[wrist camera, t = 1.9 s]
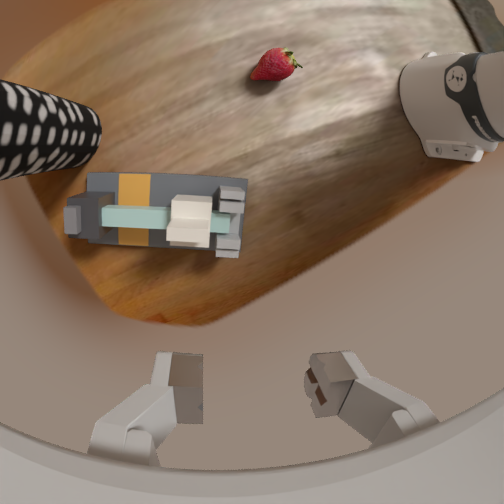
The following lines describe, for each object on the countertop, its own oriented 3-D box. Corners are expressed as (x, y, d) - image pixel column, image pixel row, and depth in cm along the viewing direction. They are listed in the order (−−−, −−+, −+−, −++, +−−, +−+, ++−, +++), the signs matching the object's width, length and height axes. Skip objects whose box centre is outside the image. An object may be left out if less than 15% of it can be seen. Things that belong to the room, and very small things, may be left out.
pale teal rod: (229, 211, 31) (230, 214, 29) (227, 228, 32) (228, 233, 30) (92, 204, 28) (85, 207, 26) (93, 221, 29) (86, 225, 27)
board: (246, 179, 34) (247, 179, 32) (239, 249, 36) (240, 252, 35) (90, 172, 30) (86, 173, 29) (91, 240, 33) (87, 243, 32)
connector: (115, 191, 31) (94, 200, 24) (114, 226, 32) (95, 242, 26) (86, 191, 30) (61, 199, 24) (87, 225, 31) (63, 240, 25)
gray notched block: (240, 187, 33) (245, 192, 28) (234, 244, 35) (238, 259, 30) (219, 185, 32) (221, 190, 27) (215, 242, 34) (215, 258, 29)
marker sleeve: (212, 196, 31) (212, 210, 23) (209, 235, 33) (208, 261, 25) (177, 194, 31) (165, 207, 23) (175, 233, 32) (163, 259, 24)
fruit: (240, 64, 29) (245, 50, 24) (283, 50, 29) (294, 35, 24) (255, 92, 30) (262, 82, 26) (298, 77, 30) (311, 66, 25)
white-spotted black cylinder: (58, 103, 26) (-46, 80, 7) (109, 108, 28) (13, 71, 9) (44, 163, 28) (-65, 183, 10) (93, 172, 30) (-13, 197, 12)
